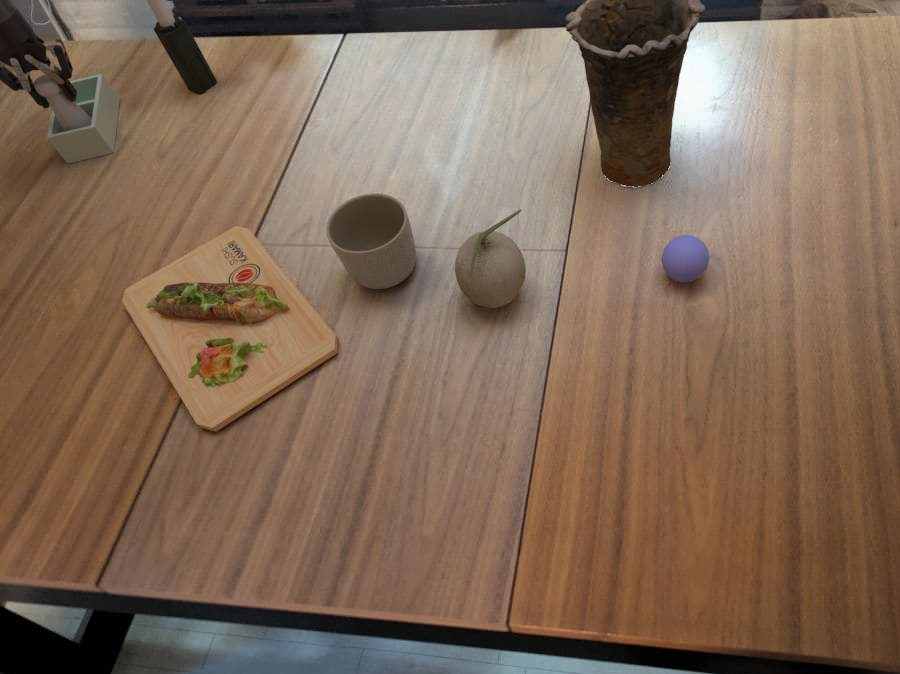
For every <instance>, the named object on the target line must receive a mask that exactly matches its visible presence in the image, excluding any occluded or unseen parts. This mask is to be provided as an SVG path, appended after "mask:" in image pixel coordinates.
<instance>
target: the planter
mask: <svg viewBox="0 0 900 674" xmlns="http://www.w3.org/2000/svg"><path fill="white" fill-rule="evenodd" d="M325 233H326V237H327V240H328V242H329V244H330V246H331V248H332V249H333V251H334V253H335V255H336V256H337V258H338V259H339V261H340V262H341V264H342V266H343V267H344V269H345V270H346V271H347V273H348V274H349V276H350V277H351V278H352V279H353V280H354V281H355V282H356V283H358V284H359V285H360V286H361V287H362V286H363V287H365V288H367V289H373V290H384V289H390V288H392V287H395V286H397V285H400V284H401V283H402V282H404V281H405V280H406V279H407V278H408V277H409V276H410V275H411V274H412V273H413V270H414V269H415V265H416V261H417V250H416V243H415V238H414V233H413V230H412V226H411V221H410V218H409V215H408V212H407V209H406V208H405V206H404V204H403V203H402V202H401V201H400V200H399V199H397V198H395V197H394V196H393V195H389V194H385V193H379V192H378V193H377V192H376V193H365V194H361V195H358V196H354V197H352V198H350V199H348V200H346V201H344V202H343V203H341V204H340V205H339V206H338V207H336V208H335V210H334V211H332V213H331V215H330V216H329V217H328V219H327V222H326V228H325Z"/></svg>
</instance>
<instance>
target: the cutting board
mask: <svg viewBox="0 0 900 674" xmlns="http://www.w3.org/2000/svg"><path fill="white" fill-rule="evenodd" d="M121 303H122V305H123V306H124V308H125V309H126V311H127V313H128V314H129V316H130V317H131V319H132V321H133V322H134V324H135V326H136V327H137V329H138V330H139V332H140V334H141V335H142V338H143V339H144V340H145V342H146V344H147V345H148V347H149V349H150V350H151V352H152V353H153V355H154V357H155V358H156V360H157V361H158V363H159V365H160V366H161V368H162V370H163V372H164V373H165V375H166V377H167V378H168V380H169V381H170V383H171V385H172V386H173V387H174V390H175V391H176V393H177V394H178V396H179V398H180V399H181V401H182V403H183V404H184V405H185V407H186V409H187V411H188V412H189V414H190V416H191V417H192V419H193V421H194V422H195V424H196V425H197V426H198V427H199V428H201V429H204V430H208V431H211V432H216V433H217V432H218V431H220V430H222V429H223V428H224V427H226V426H227V425H229V424H230V423H232V422H234V421H235V420H237V419H239V417H242V416H243V415H244V414H246V413H247V412H249V411H250V410H252V409H253V408H256V407H257V406H258V405H260V404H261V403H262V402H264V401H266V400H268V399H269V398H270V397H272V396H274V395H275V394H277V393H279V392H280V391H281V390H283V389H284V388H286V387H287V386H289V385H290V384H293V382H295V381H297V380H298V379H300V378H302V377H303V376H304V375H306V374H308V373H309V372H310V371H312V370H314V369H315V368H317V367H318V366H320V365H321V364H323V363H324V362H326V361H327V360H329V359H331V358H332V357H334V356H335V355H336V354H338V346H339V345H338V344H339V337H338V336H337V335H336V333H335V332H334V331H333V329H332V328H331V327H330V326H329V324H328V323H327V322H326V321H325V320H324V319H323V317H322V316H321V315H320V314H319V313H318V311H317V310H316V308H315V307H314V306H313V305H312V304H311V302H310V301H309V300H308V299H307V298H306V297H305V295H304V294H303V293H302V292H301V290H300V289H299V288H298V287H297V286H296V284H295V283H294V282H293V281H292V280H291V278H290V277H289V275H288V274H287V273H286V272H285V271H284V270H283V268H282V267H281V266H280V265H279V264H278V262H277V261H276V260H275V259H274V257H273V256H272V255H271V254H270V253H269V252H268V250H267V249H266V248H265V247H264V245H263V244H262V243H261V242H260V241H259V239H258V238H257V237H256V235H255V234H254V233H253V232H252V231H251V230H250V228H248V227H243V226H237V225H235V226H233V227H231V228H230V229H228V230H225V231H224V232H222V233H221V234H218V235H217V236H216V237H213V238H212V239H210V240H208V241H206V242H205V243H203V244H201V245H199V246H198V247H196V248H194V249H193V250H191V251H189V252H188V253H186V254H184V255H181V257H179V258H177V259H175V260H174V261H172V262H170V263H168V264H167V265H164V266H163V267H161V268H160V269H157V270H155V271H154V272H153V273H150V274H148V276H146V277H143V278H142V279H140V280H138V281H137V282H135V283H133V284H131V285H129V286H128V287H127V288H125V289H124V292H123V296H122V300H121Z"/></svg>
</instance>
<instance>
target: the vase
mask: <svg viewBox="0 0 900 674" xmlns="http://www.w3.org/2000/svg"><path fill="white" fill-rule="evenodd" d="M705 12H706V7H705V4H703V3H702V2H701V0H586V1H584V2H583V3H582V4H580V6H578V7H577V8H576V10H575V11H571V12H570V13H569V14H567V15H566V16H565V19H564V20H565V24H566V25H565V29H566V32H568V33H569V34H570V36H571V39H572V40H573V41H574V42H576V43H577V44H578V49H579V51H580V53H581V55H580V56H581V58H582V59H583V63H584V71H585V79H586V83H587V87H588V92H589V100H590V107H591V113H592V116H593V121H594V127H595V133H596V137H597V140H598V144H599V149H600V168H602V169H601V173H602V175H603V174H604V175H605V176H606V178H608V179H609V180H610V181H613V182H616V183H615V184H617V183H619V184H618V185H620V184H622V185H626V186H634V187H638V186H643V187H645V186H647V185H648V184H650V185H652V184H651V183H653V182H655V183H656V181H658V179H659V178H661V177H662V175H664V174H665V173H667V172H668V171H669V170H668V168H669V166H670V167H671V165H670V162H671V163H672V161H671V159H672V158H671V147H672V132H673V119H674V114H675V106H676V105H675V104H676V99H677V95H678V94H677V93H678V88H679V83H680V82H679V81H680V75H681V72H682V67H683V63H684V59H685V55H686V52H687V49H688V42H689V40H690V37H691V33H692V31H693V30H694V29H695V27H697V25H698V23H699V19H700V18H701V16H702V15H703V14H705ZM669 169H670V168H669ZM604 175H603V176H604ZM665 175H666V174H665ZM665 175H664V176H665ZM606 178H605V179H606ZM659 180H660V179H659ZM653 184H654V183H653ZM644 185H645V186H644Z"/></svg>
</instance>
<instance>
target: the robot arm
mask: <svg viewBox="0 0 900 674" xmlns="http://www.w3.org/2000/svg"><path fill="white" fill-rule="evenodd" d="M47 51H48V52H50V54H51V55H52V56H53V57H55V58H56V59H57V62H58V65H59V66H58V65H57V64H56V62H55V61H54V60H53V59H52V58H51V57H49V55H47ZM3 64H4V65H3ZM5 65H6V66H8V67H10V68H12V69H13V70H14V73H13V72H11V70H9V69H8V68H7V67H6V66H5ZM33 71H40V72H42V73H43V75H47V76H50V77H51V78H53V79H54V80H55V81H56V82H57V83H59V87H60V88H61V89H62V90H63V92H64V93H65V94H66V96H67V97H68V98H69V100H70V101H71V102H74V101H76V97H77V91H76V89H75V88H74V86H73V85H72V84H71V82H70V81H71V80H70V79H72V77H73V73H74V72H73V71H74V68H73V64H72V62H71V60H70V58H69V55H68V52H67V49H66V47H65V44H64V41H63V40H61V39H59V38H58V39H55V40H54V42H53V41H45V40H44V39H42V38H41V37H39V35H37V34H36V33H35V31H34V29H33V28H32V26H31V24H30V23H29V22H28V21H27V19H26V18H25V16H24V15H23V14H22V12H21V11H20V10H19V8H18V7H17V5H16V4H15V3H14V1H13V0H0V81H1V82H2V83H3V84H5V86H7V87H8V88H9V89H11V90H12V91H14V92H19V90H20V91H25V92H26V93H28V94H29V96H30V97H31V98H32V99H33V101H34V102H35V103H36V104H37V105H38V106H39V107H42V108H43V109H48V108H50V105H49V103H48V101H47V99H46V97H44V96H41V95H40V94H39V93H38V92H37V91H36V89H35V87H34V81H33V78H32V76H31V74H30V73H31V72H33Z"/></svg>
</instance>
